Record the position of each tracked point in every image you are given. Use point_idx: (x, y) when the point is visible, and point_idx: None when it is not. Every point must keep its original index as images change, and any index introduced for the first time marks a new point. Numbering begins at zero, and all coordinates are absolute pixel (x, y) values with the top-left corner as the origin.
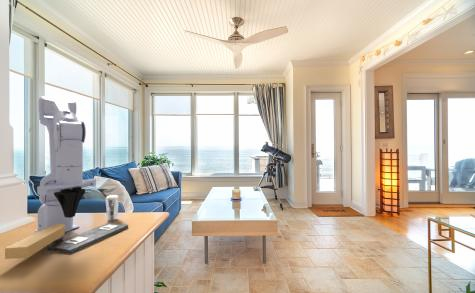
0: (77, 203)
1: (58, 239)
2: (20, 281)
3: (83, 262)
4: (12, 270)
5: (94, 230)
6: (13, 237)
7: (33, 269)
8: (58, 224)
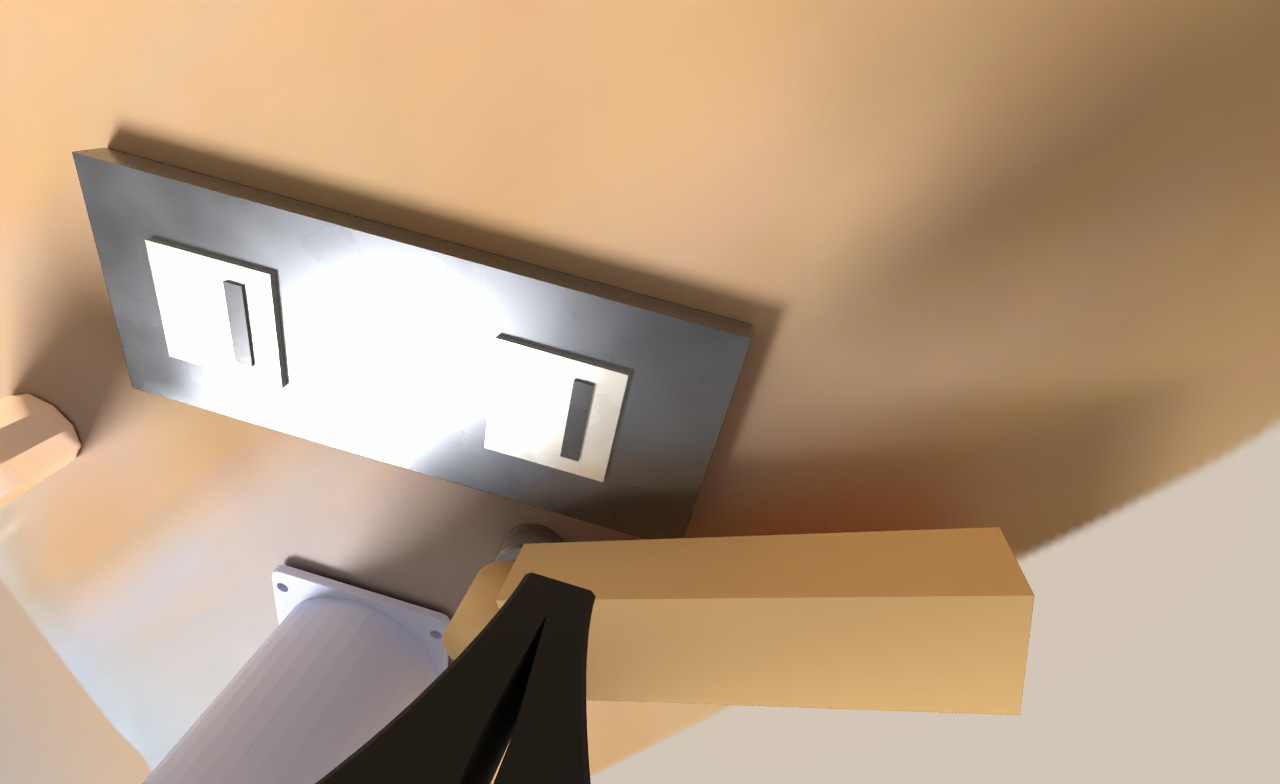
0: (431, 723)
1: None
2: (1229, 375)
3: (957, 63)
4: None
5: (323, 403)
6: None
7: (1017, 417)
8: None
